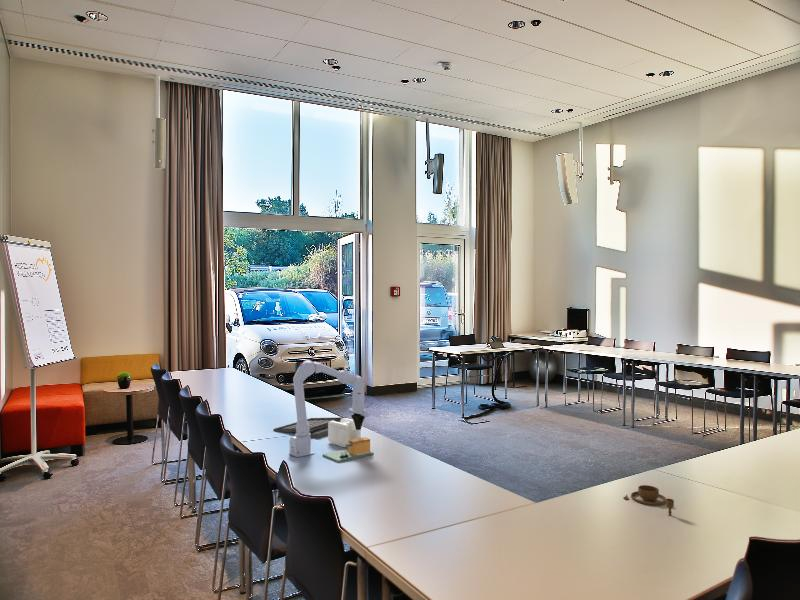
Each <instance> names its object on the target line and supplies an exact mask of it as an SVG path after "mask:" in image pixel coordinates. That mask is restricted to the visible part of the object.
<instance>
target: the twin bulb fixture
mask: <svg viewBox="0 0 800 600" xmlns="http://www.w3.org/2000/svg"><path fill="white" fill-rule="evenodd" d="M345 457H349V455H347V450H345V455H343V451H341V456H340V458H345Z"/></svg>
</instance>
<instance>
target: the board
mask: <svg viewBox="0 0 800 600" xmlns="http://www.w3.org/2000/svg"><path fill="white" fill-rule="evenodd" d="M345 450H347V455H349V457H345V458H340V456H341V451H343V455H345ZM372 455H374V452H373V451H372V450H370V452H366V453H362V454H358V455H353V454H350V453H349V448H345V449H341V450H335V451H331V452H327V453H322V457H323V458H326V459H328V460H330V461H332V462H335V463H343V462H348V461H352V460H356V459H361V458H364V457H369V456H372Z"/></svg>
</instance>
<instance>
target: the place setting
mask: <svg viewBox="0 0 800 600" xmlns="http://www.w3.org/2000/svg"><path fill="white" fill-rule="evenodd" d="M637 488H638V489H637V491H634V492H631V494H630V498H631V499H632V500H633V501H634V502H636V503H638V504H641V505H646V506H656V507H657V506H663V505H665V506H666V508H668V513H667V514H668V516H669V517H672V513H673V512H672V509H674V510H675V509H677V508H674V505H675V500H674V499H673V498H666V496H664V495H662V494H660V490H659V488H658V487H656V486H653V485H648V484H646V485H645V484H642V485H639V486H638V487H637ZM637 496H639V497H640V498H641V499H642V500H641V499H638V498H636V497H637ZM630 498H629V497H628V494H625V496H623V500H627V501H628V500H629V499H630ZM657 499H660V500H662V501H659V502H655V500H657Z"/></svg>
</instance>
